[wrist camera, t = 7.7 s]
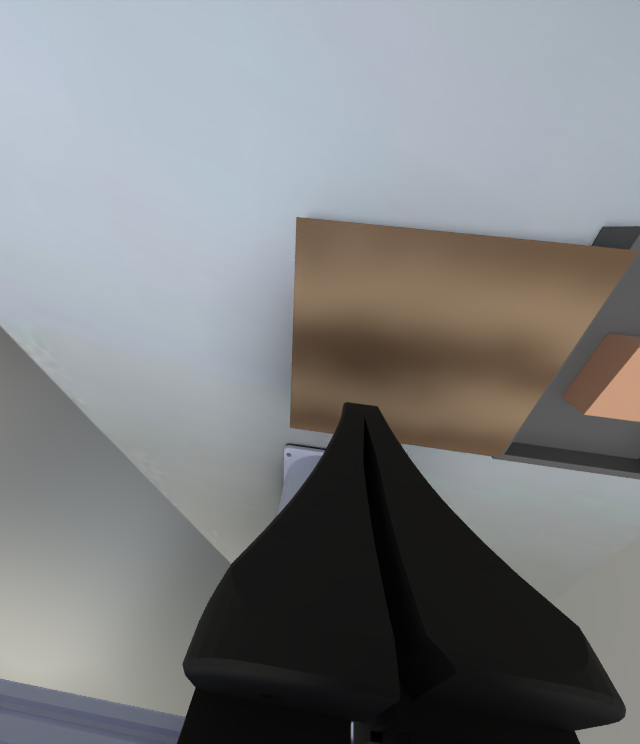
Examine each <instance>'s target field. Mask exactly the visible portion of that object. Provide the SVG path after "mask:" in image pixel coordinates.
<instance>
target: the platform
mask: <svg viewBox="0 0 640 744" xmlns="http://www.w3.org/2000/svg"><path fill="white" fill-rule="evenodd" d="M638 252H639V251H637V250H627V249H616V248H606V247H596V246H586V245H576V244H565V243H555V242H545V241H535V240H525V239H514V238H504V237H494V236H484V235H474V234H463V233H453V232H443V231H433V230H423V229H412V228H402V227H392V226H382V225H372V224H361V223H351V222H341V221H331V220H321V219H310V218H300V217H297V220H296V252H295V284H294V317H293V349H292V381H291V413H290V428H296V429H303V430H310V431H317V432H324V433H331V434H334V433H335V430H336V428H337V426H338V424H339V421H340V418H341V415H342V409H343V404H344V403H346V402H350V403H358V404H365V405H373V406H378V408H379V409H380V411H381V413H382V414H383V416H384V418H385V420H386V422H387V423H388V425H389V427H390V428H391V430H392V432H393V433H394V435H395V437H396V438H397V440H398V441H399V443H402V444H409V445H416V446H423V447H430V448H437V449H444V450H451V451H458V452H465V453H472V454H479V455H486V456H493V457H500V456H501V455H502V454H503V452H504V451H505V449H506V448H507V446H508V445H509V443H510V442H511V440H512V439H513V437H514V436H515V434H516V433H517V431H518V430H519V428H520V427H521V425H522V424H523V422H524V421H525V419H526V418H527V416H528V415H529V414H530V412H531V411H532V409H533V408H534V406H535V405H536V403H537V402H538V400H539V399H540V397H541V396H542V394H543V393H544V391H545V390H546V388H547V387H548V385H549V384H550V382H551V381H552V379H553V378H554V376H555V375H556V374H557V372H558V371H559V369H560V368H561V366H562V365H563V363H564V362H565V360H566V359H567V357H568V356H569V354H570V353H571V351H572V350H573V348H574V347H575V345H576V344H577V342H578V341H579V339H580V338H581V337H582V335H583V334H584V332H585V331H586V329H587V328H588V326H589V325H590V323H591V322H592V320H593V319H594V317H595V316H596V314H597V313H598V311H599V310H600V308H601V307H602V305H603V304H604V302H605V301H606V299H607V298H608V297H609V295H610V294H611V292H612V291H613V289H614V288H615V286H616V285H617V283H618V282H619V280H620V279H621V277H622V276H623V274H624V273H625V271H626V270H627V268H628V267H629V265H630V264H631V262H632V261H633V259H634V258H635V257H636V255H637V254H638Z"/></svg>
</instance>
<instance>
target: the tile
mask: <svg viewBox="0 0 640 744" xmlns="http://www.w3.org/2000/svg"><path fill="white" fill-rule="evenodd" d="M562 398H564V399H565V400H566V401H567V402H569V403H570V404H571V405H572V406H574V407H575V408H576V409H577V410H579V411H580V412H581V413H583V414H584V415H591V416H598V417H606V418H614V419H622V420H629V421H637V422H640V337H638V336H630V335H621V334H612V333H608V334H607V335H606V337H605V338H604V339H603V341H602V342H601V344H600V345H599V346H598V348H597V349H596V350H595V352H594V353H593V355H592V356H591V357H590V359H589V360H588V361H587V363H586V364H585V366H584V367H583V368H582V370H581V371H580V372H579V374H578V375H577V377H576V378H575V379H574V381H573V382H572V383H571V385H570V386H569V388H568V389H567V390H566V392H565V393H564V394H563V396H562Z"/></svg>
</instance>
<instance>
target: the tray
mask: <svg viewBox="0 0 640 744" xmlns="http://www.w3.org/2000/svg"><path fill="white" fill-rule="evenodd" d="M592 246H596V247H606V248H616V249H627V250H637V251H639V252H638V254H637V255H636V257H635V258H634V259H633V261H632V262H631V264H630V265H629V267H628V268H627V270H626V271H625V273H624V274H623V276H622V277H621V279H620V280H619V282H618V283H617V285H616V286H615V288H614V289H613V291H612V292H611V294H610V295H609V297H608V298H607V299H606V301H605V302H604V304H603V305H602V307H601V308H600V310H599V311H598V313H597V314H596V316H595V317H594V319H593V320H592V322H591V323H590V325H589V326H588V328H587V329H586V331H585V332H584V334H583V335H582V337H581V338H580V339H579V341H578V342H577V344H576V345H575V347H574V348H573V350H572V351H571V353H570V354H569V356H568V357H567V359H566V360H565V362H564V363H563V365H562V366H561V368H560V369H559V371H558V372H557V374H556V375H555V376H554V378H553V379H552V381H551V382H550V384H549V385H548V387H547V388H546V390H545V391H544V393H543V394H542V396H541V397H540V399H539V400H538V402H537V403H536V405H535V406H534V408H533V409H532V411H531V412H530V414H529V415H528V416H527V418H526V419H525V421H524V422H523V424H522V425H521V427H520V428H519V430H518V431H517V433H516V434H515V436H514V437H513V439H512V440H511V442H510V443H509V445H508V446H507V448H506V449H505V451H504V452H503V454H502V455H501V456H500V457H493V456H492V458H493V459H500V460H507V461H514V462H521V463H528V464H535V465H542V466H549V467H556V468H563V469H570V470H577V471H584V472H591V473H598V474H605V475H612V476H619V477H626V478H633V479H640V422H637V421H629V420H622V419H614V418H606V417H598V416H591V415H584V414H583V413H581V412H580V411H579V410H577V409H576V408H575V407H574V406H572V405H571V404H570V403H569V402H567V401H566V400H565V399H564V398H562V396H563V394H564V393H565V392H566V390H567V389H568V388H569V386H570V385H571V383H572V382H573V381H574V379H575V378H576V377H577V375H578V374H579V372H580V371H581V370H582V368H583V367H584V366H585V364H586V363H587V361H588V360H589V359H590V357H591V356H592V355H593V353H594V352H595V350H596V349H597V348H598V346H599V345H600V344H601V342H602V341H603V339H604V338H605V337H606V335H607V334H608V333H612V334H621V335H630V336H638V337H640V226H634V227H603V228H602V230H601V231H600V233H599V235H598V237H597V238H596V240H595V242H594V243H593V245H592Z"/></svg>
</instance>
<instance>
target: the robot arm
mask: <svg viewBox="0 0 640 744" xmlns="http://www.w3.org/2000/svg"><path fill="white" fill-rule="evenodd" d="M289 453H290V454H289ZM183 669H184V673H185V675H186V677H187V678H188V679H189V680H190V681H191V682H192V684H193V685H194V686H195V687H196V688H195V691H194V694H193V697H192V701H191V703H190V706H189V709H188V712H187V715H186V717H183V716H178V715H173V714H169V713H164V712H159V711H154V710H149V709H144V708H140V707H135V706H130V705H125V704H120V703H115V702H110V701H106V700H101V699H96V698H91V697H86V696H81V695H76V694H72V693H67V692H62V691H57V690H52V689H47V688H42V687H38V686H33V685H28V684H23V683H18V682H13V681H9V680H4V679H0V744H580V742H579V740H578V738H577V735H576V733H575V730H581V729H586V728H591V727H597V726H603V725H608V724H612V723H615V722H619V721H620V720H622V719H623V718H624V717H625V713H626V709H625V705H624V703H623V701H622V699H621V697H620V696H619V694H618V692H617V691H616V689H615V687H614V685H613V683H612V682H611V680H610V678H609V677H608V675H607V673H606V671H605V670H604V668H603V666H602V664H601V663H600V661H599V659H598V657H597V656H596V654H595V652H594V651H593V649H592V647H591V646H590V644H589V642H588V641H587V639H586V637H585V636H584V634H583V633H582V631H581V629H580V628H579V627H578V626H577V625H576V624H575V623H574V622H573V621H571V620H570V619H569V618H568V617H567V616H565V615H564V614H563V613H562V612H561V611H560V610H559V609H557V608H556V607H555V606H554V605H553V604H552V603H550V602H549V601H548V600H547V599H546V598H545V597H543V596H542V595H541V594H540V593H539V592H538V591H536V590H535V589H534V588H533V587H532V586H531V585H529V584H528V583H527V582H526V581H525V580H524V579H522V578H521V577H520V576H519V575H518V574H517V573H516V572H515V571H514V570H512V569H511V568H510V567H509V566H508V565H507V564H506V563H505V562H504V561H503V560H502V559H501V558H500V557H499V556H497V555H496V554H495V553H494V552H493V551H492V550H491V549H490V548H489V547H488V546H487V545H486V544H485V543H484V542H483V541H482V540H481V539H480V538H479V537H478V536H477V535H476V534H475V533H474V532H473V531H472V530H471V529H470V528H469V527H468V526H467V525H466V524H465V523H464V522H463V521H462V520H461V519H460V518H459V517H458V516H457V515H456V514H455V513H454V512H453V511H452V510H451V508H450V507H449V506H448V505H447V504H446V503H445V502H444V501H443V500H442V499H441V497H440V496H439V495H438V494H437V493H436V491H435V490H434V489H433V488H432V487H431V485H430V484H429V483H428V482H427V480H426V479H425V478H424V477H423V475H422V474H421V473H420V471H419V470H418V469H417V467H416V466H415V465H414V463H413V462H412V461H411V459H410V458H409V456H408V455H407V453H406V452H405V451H404V449H403V447H402V446H401V444H400V443H399V441H398V440H397V438H396V437H395V435H394V433H393V432H392V430H391V428H390V427H389V425H388V423H387V422H386V420H385V418H384V416H383V414H382V413H381V411H380V409H379V408H378V406H373V405H365V404H358V403H350V402H346V403H344V404H343V409H342V415H341V418H340V421H339V424H338V426H337V428H336V430H335V433H334V435H333V437H332V439H331V441H330V443H329V444H328V446H327V448H326V450H320V449H313V448H306V447H299V446H292V445H287V446H285V449H284V488H283V492H282V496H281V499H280V503H279V507H278V511H277V515H276V518H275V519H274V520H273V521H272V522H271V523H270V525H269V526H268V527H267V528H266V529H265V530H264V531H263V532H262V533H261V534H260V535H259V536H258V537H257V538H256V539H255V540H254V541H253V542H252V543H251V544H250V545H249V546H248V547H247V548H246V550H245V551H244V552H243V553H242V554H241V555H240V556H239V557H238V558H237V559H236V560H235V561H234V562H233V563H232V564H231V565H230V567H229V569H228V570H227V572H226V573H225V575H224V577H223V578H222V580H221V581H220V583H219V585H218V586H217V588H216V590H215V592H214V593H213V595H212V597H211V598H210V600H209V602H208V604H207V606H206V608H205V610H204V612H203V614H202V617H201V619H200V620H199V623H198V625H197V628H196V630H195V633H194V636H193V639H192V641H191V643H190V646H189V648H188V651H187V654H186V656H185V659H184V661H183Z"/></svg>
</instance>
